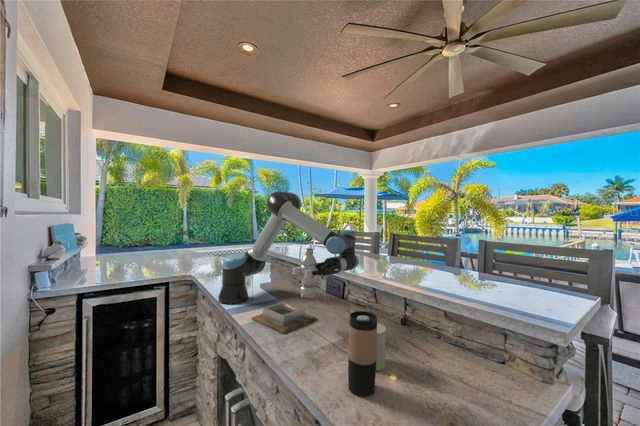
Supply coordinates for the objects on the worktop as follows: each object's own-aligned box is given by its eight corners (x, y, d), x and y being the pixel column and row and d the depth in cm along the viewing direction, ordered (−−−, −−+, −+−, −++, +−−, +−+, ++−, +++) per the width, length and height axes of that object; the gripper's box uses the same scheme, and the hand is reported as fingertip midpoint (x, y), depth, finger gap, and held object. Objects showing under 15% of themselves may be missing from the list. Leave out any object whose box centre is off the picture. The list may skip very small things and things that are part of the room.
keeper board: (285, 308, 136) (285, 305, 136) (316, 319, 123) (316, 316, 123) (251, 320, 121) (251, 317, 121) (283, 334, 108) (283, 331, 108)
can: (383, 356, 93) (384, 321, 93) (387, 372, 84) (388, 333, 84) (355, 354, 94) (356, 319, 94) (356, 370, 85) (357, 331, 85)
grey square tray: (283, 309, 131) (284, 301, 131) (304, 317, 122) (305, 308, 122) (262, 317, 121) (262, 308, 121) (283, 326, 113) (283, 316, 112)
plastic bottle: (317, 296, 116) (319, 248, 115) (311, 301, 109) (313, 250, 109) (303, 294, 118) (304, 247, 117) (296, 299, 111) (298, 249, 111)
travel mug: (345, 380, 80) (347, 310, 79) (371, 379, 80) (373, 310, 80) (350, 398, 72) (352, 321, 72) (379, 397, 73) (381, 321, 72)
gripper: (351, 277, 121) (317, 287, 103) (318, 269, 133) (282, 278, 116) (352, 259, 121) (318, 267, 103) (319, 254, 133) (283, 260, 115)
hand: (299, 272), depth 109 cm, fingers closed on plastic bottle, 6 cm apart
